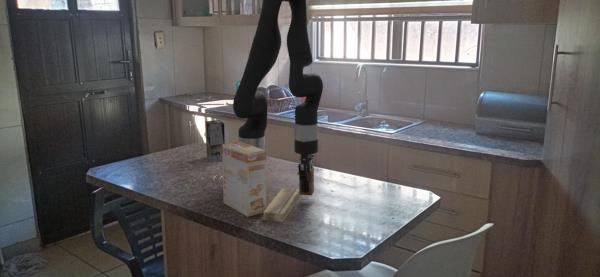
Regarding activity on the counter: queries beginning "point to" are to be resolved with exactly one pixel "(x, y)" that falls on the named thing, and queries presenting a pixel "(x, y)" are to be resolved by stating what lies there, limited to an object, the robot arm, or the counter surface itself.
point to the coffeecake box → (244, 178)
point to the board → (281, 205)
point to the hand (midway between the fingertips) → (306, 189)
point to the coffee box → (214, 139)
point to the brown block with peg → (311, 184)
